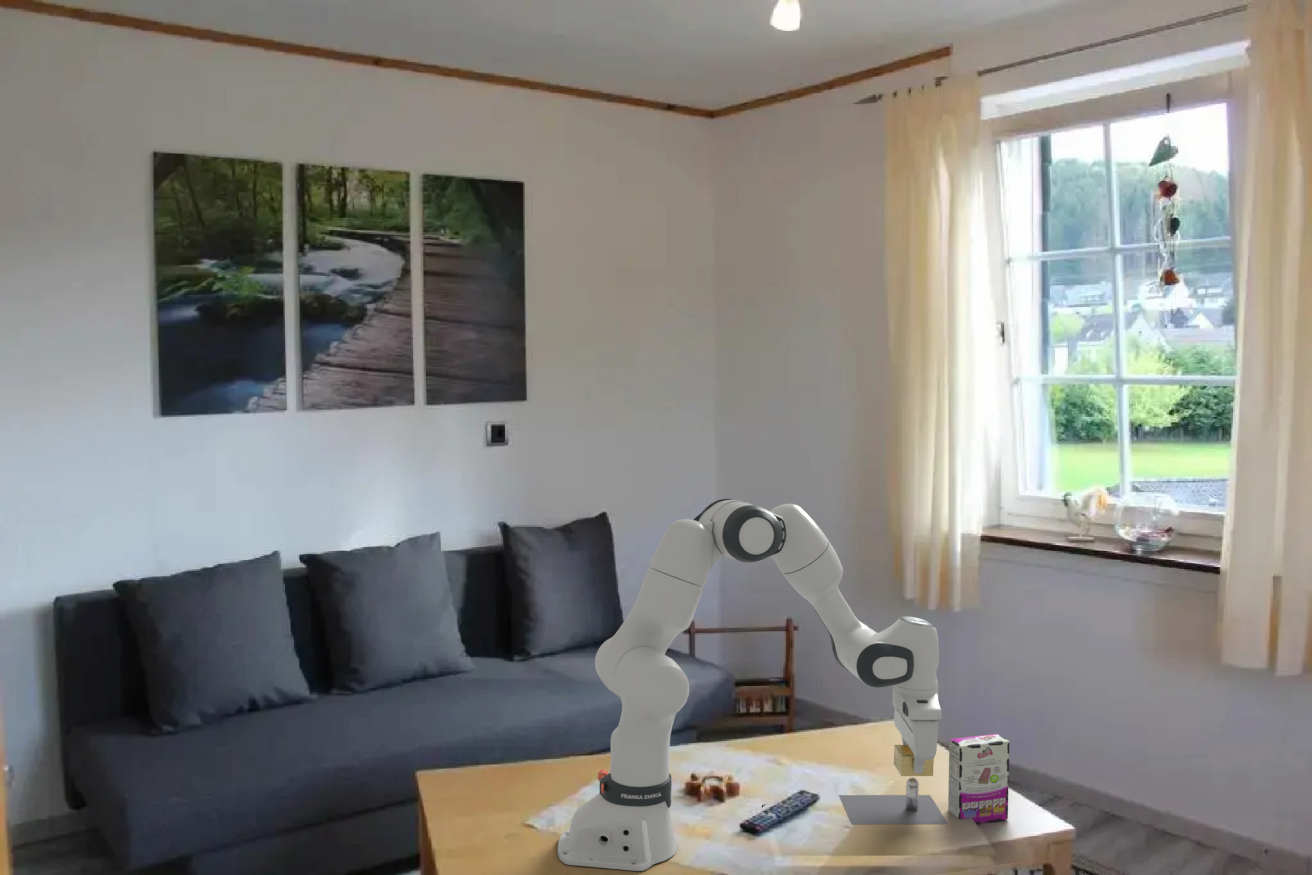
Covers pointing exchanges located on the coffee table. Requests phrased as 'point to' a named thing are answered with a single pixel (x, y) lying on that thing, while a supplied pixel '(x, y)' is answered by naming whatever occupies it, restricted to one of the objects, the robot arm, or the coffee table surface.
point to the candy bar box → (979, 778)
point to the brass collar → (909, 762)
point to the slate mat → (890, 810)
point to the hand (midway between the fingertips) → (913, 764)
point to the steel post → (912, 794)
